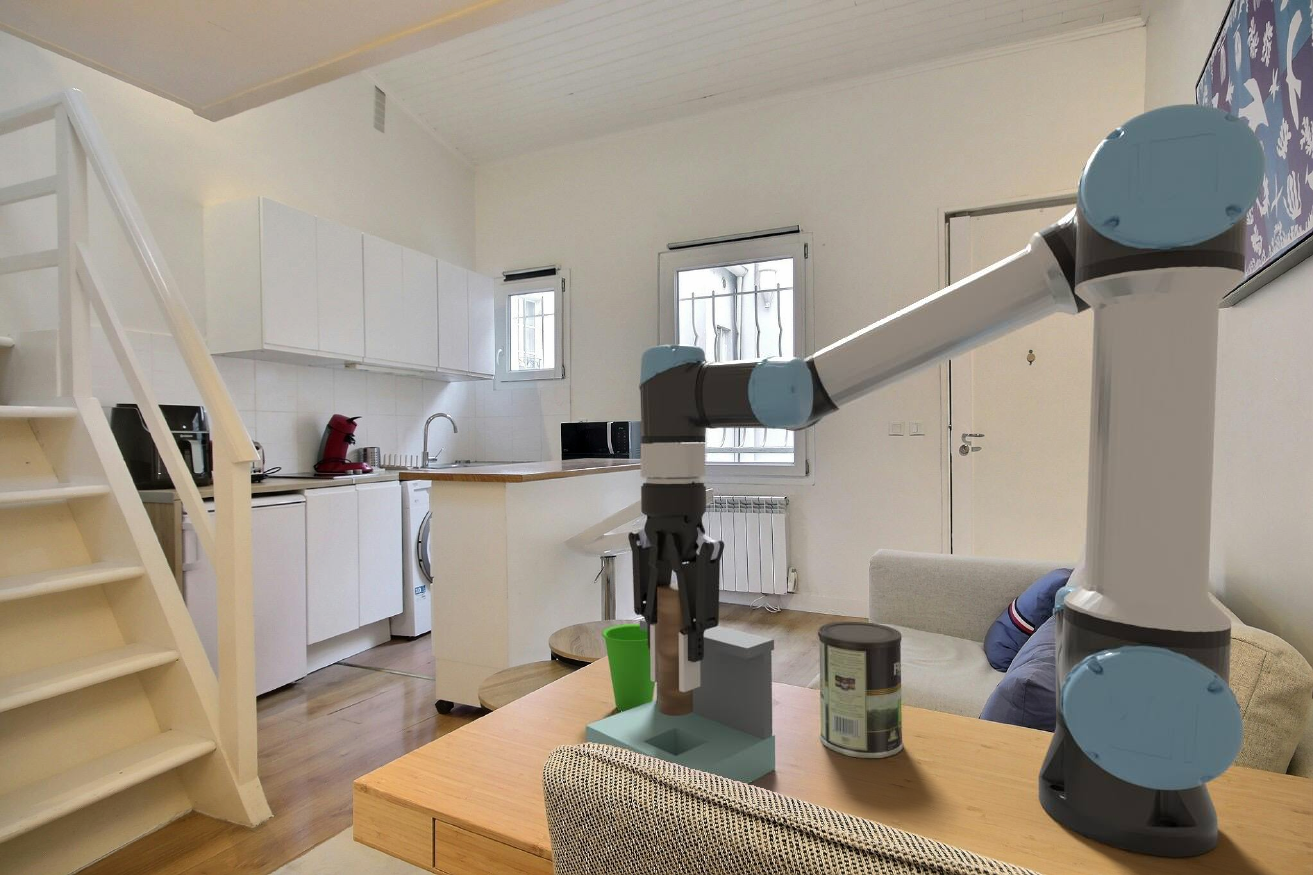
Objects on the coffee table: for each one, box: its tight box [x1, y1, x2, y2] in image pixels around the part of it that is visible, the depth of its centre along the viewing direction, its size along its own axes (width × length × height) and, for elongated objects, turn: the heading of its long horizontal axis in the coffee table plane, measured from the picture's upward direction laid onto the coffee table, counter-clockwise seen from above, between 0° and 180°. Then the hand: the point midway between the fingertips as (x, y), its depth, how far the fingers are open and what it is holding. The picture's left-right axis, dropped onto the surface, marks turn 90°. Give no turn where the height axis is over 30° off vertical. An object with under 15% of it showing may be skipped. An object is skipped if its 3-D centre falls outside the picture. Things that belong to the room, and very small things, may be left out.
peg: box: [657, 583, 693, 716], centre depth 80 cm, size 4×4×14 cm
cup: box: [601, 623, 656, 712], centre depth 101 cm, size 9×9×11 cm
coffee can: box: [817, 621, 904, 759], centre depth 89 cm, size 10×10×14 cm
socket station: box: [585, 618, 776, 785], centre depth 83 cm, size 18×14×15 cm
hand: (675, 682), depth 80 cm, fingers closed on peg, 4 cm apart
